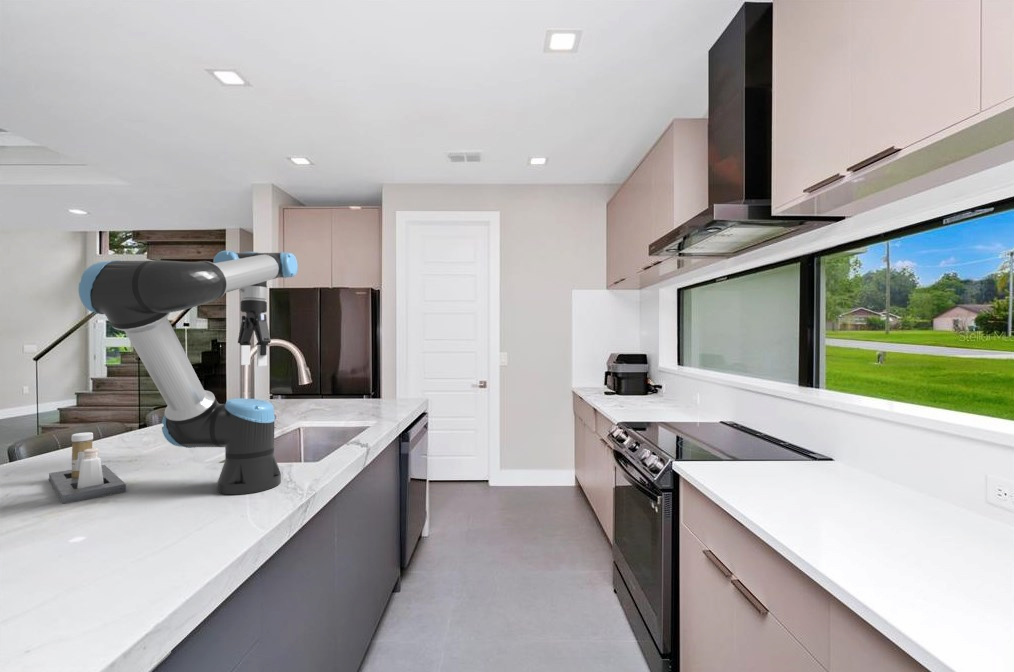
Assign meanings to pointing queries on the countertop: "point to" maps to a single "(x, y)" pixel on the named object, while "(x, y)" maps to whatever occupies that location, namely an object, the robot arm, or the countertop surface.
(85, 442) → the sprinkles bottle
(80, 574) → the countertop surface
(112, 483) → the bolt plate
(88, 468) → the pepper shaker
